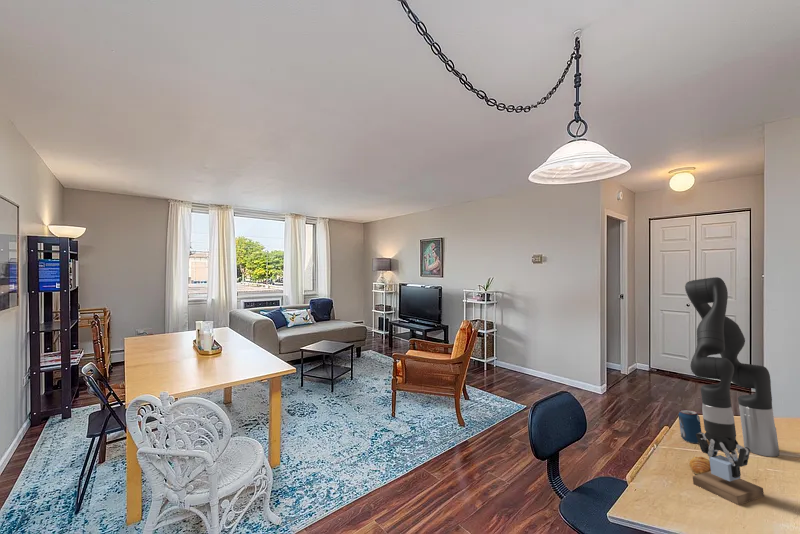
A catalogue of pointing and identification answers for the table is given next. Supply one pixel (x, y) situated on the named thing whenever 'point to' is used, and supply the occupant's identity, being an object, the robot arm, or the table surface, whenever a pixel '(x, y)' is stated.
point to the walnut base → (729, 488)
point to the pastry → (700, 465)
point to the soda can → (689, 425)
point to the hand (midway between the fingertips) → (725, 472)
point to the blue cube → (721, 467)
